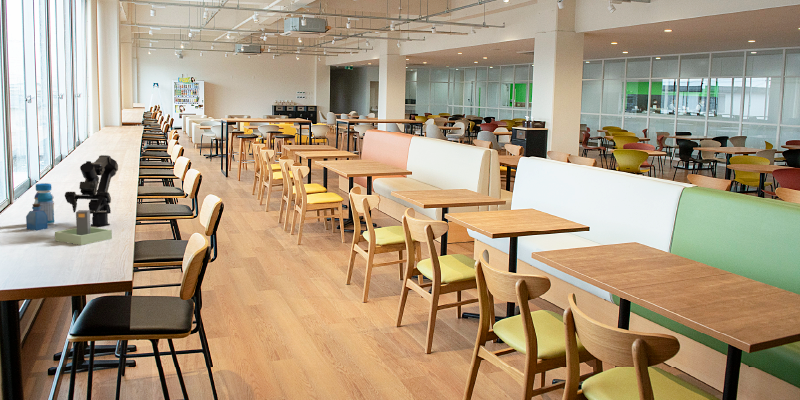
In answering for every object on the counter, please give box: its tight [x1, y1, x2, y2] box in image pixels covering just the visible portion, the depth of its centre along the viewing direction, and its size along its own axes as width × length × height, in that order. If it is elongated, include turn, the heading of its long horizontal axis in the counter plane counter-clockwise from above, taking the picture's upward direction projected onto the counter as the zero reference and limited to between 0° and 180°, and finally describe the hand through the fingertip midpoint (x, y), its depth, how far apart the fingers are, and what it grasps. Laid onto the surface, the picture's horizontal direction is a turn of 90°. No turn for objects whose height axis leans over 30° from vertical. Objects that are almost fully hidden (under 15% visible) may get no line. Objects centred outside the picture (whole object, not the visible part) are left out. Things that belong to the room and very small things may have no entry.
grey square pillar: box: [75, 209, 91, 235], centre depth 267 cm, size 5×4×12 cm
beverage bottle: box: [33, 183, 55, 226], centre depth 298 cm, size 8×8×20 cm
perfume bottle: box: [25, 203, 49, 232], centre depth 286 cm, size 6×6×12 cm
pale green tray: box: [54, 226, 113, 246], centre depth 268 cm, size 16×16×4 cm
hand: (84, 212), depth 275 cm, fingers open, 9 cm apart
